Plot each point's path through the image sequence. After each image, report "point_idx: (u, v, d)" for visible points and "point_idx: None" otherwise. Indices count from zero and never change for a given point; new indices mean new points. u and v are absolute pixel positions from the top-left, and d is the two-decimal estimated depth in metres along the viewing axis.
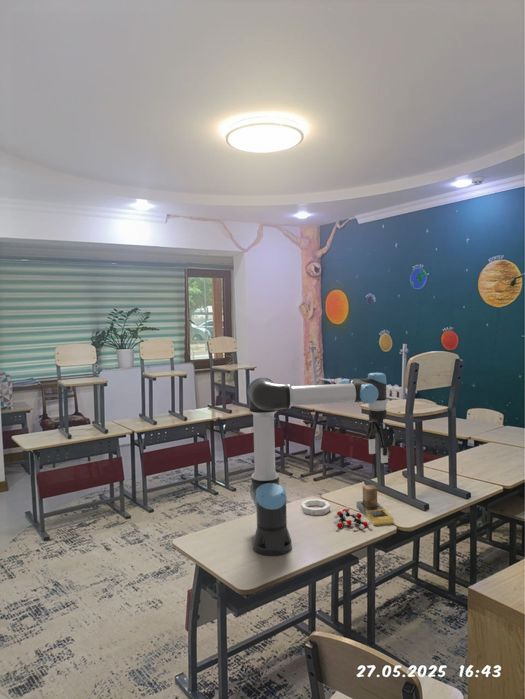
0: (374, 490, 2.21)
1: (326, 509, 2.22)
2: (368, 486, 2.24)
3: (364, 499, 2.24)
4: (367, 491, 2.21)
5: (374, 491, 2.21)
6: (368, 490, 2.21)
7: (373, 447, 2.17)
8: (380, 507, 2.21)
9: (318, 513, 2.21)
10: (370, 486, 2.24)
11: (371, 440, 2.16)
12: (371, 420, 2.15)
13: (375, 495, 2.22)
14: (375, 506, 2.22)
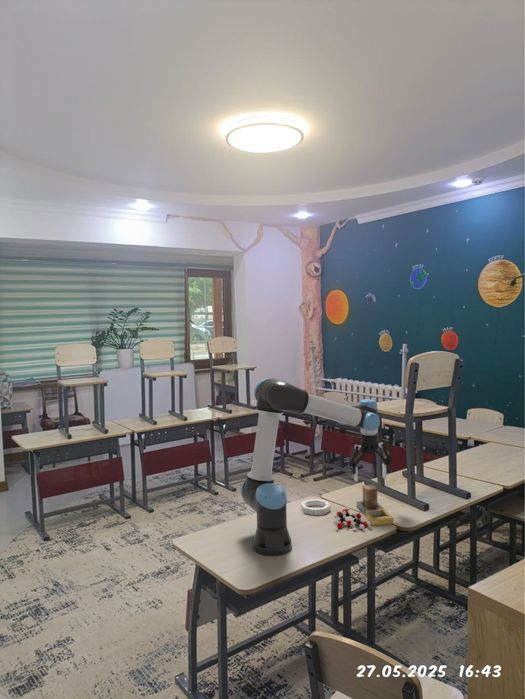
0: (374, 490, 2.21)
1: (326, 509, 2.22)
2: (368, 486, 2.24)
3: (364, 499, 2.24)
4: (367, 491, 2.21)
5: (374, 491, 2.21)
6: (368, 490, 2.21)
7: (383, 472, 2.24)
8: (380, 507, 2.21)
9: (318, 513, 2.21)
10: (370, 486, 2.24)
11: (383, 464, 2.24)
12: None
13: (375, 495, 2.22)
14: (375, 506, 2.22)
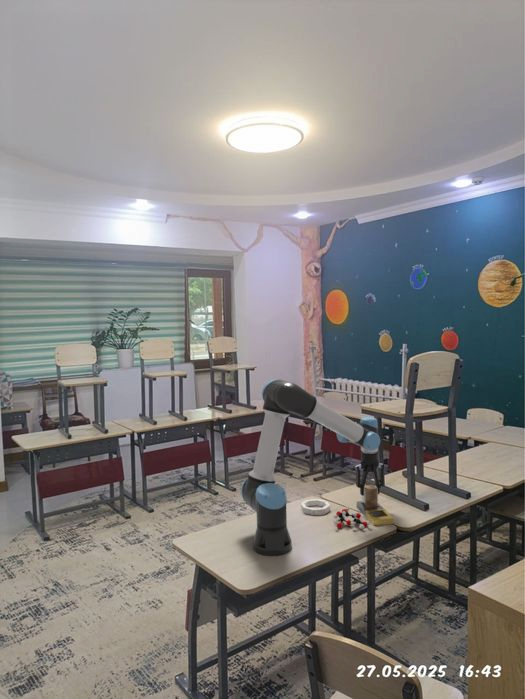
0: (374, 490, 2.21)
1: (326, 509, 2.22)
2: (368, 486, 2.24)
3: None
4: (367, 491, 2.21)
5: (374, 491, 2.21)
6: (368, 490, 2.21)
7: None
8: (380, 507, 2.21)
9: (318, 513, 2.21)
10: (370, 486, 2.24)
11: None
12: None
13: (375, 495, 2.22)
14: (375, 506, 2.22)
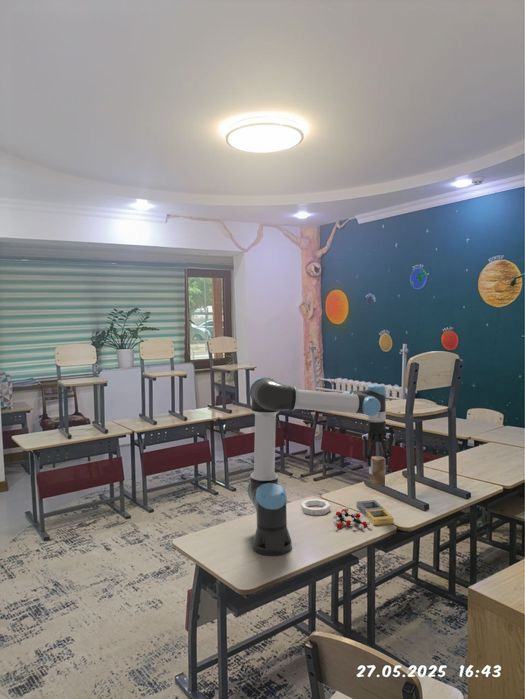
0: (382, 461, 2.11)
1: (326, 509, 2.22)
2: (375, 457, 2.14)
3: None
4: (374, 462, 2.11)
5: (381, 462, 2.11)
6: (376, 461, 2.11)
7: None
8: (380, 507, 2.21)
9: (318, 513, 2.21)
10: (377, 457, 2.14)
11: None
12: None
13: (383, 466, 2.11)
14: (382, 478, 2.12)
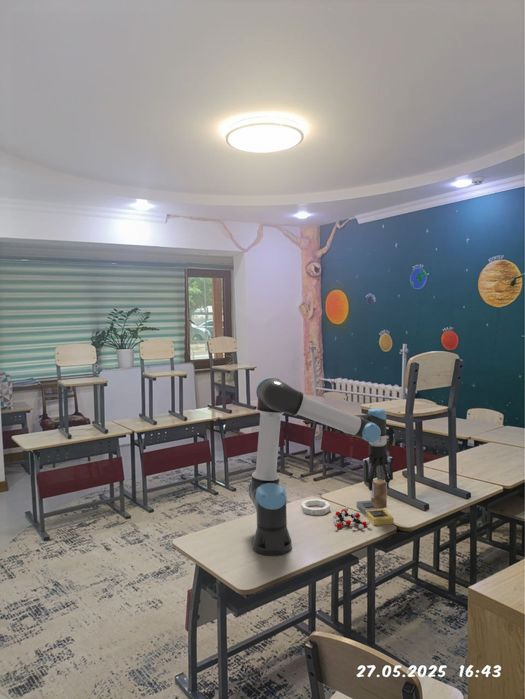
0: (383, 484, 2.11)
1: (326, 509, 2.22)
2: (377, 480, 2.14)
3: None
4: (376, 486, 2.11)
5: (383, 486, 2.11)
6: (377, 485, 2.11)
7: None
8: None
9: (318, 513, 2.21)
10: (379, 480, 2.14)
11: None
12: None
13: (384, 490, 2.11)
14: (384, 501, 2.12)
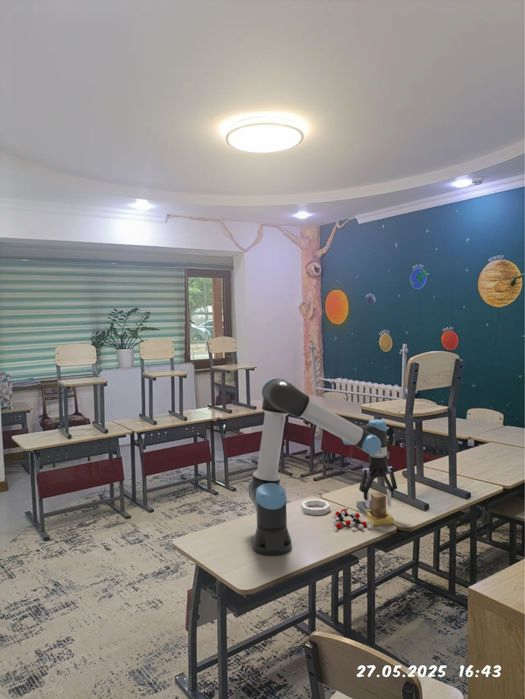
0: (383, 498, 2.11)
1: (326, 509, 2.22)
2: (376, 494, 2.15)
3: (372, 507, 2.14)
4: (375, 499, 2.11)
5: (383, 499, 2.12)
6: (377, 498, 2.11)
7: (388, 499, 2.14)
8: None
9: (318, 513, 2.21)
10: (378, 494, 2.14)
11: (387, 491, 2.15)
12: None
13: (384, 503, 2.12)
14: (384, 515, 2.12)
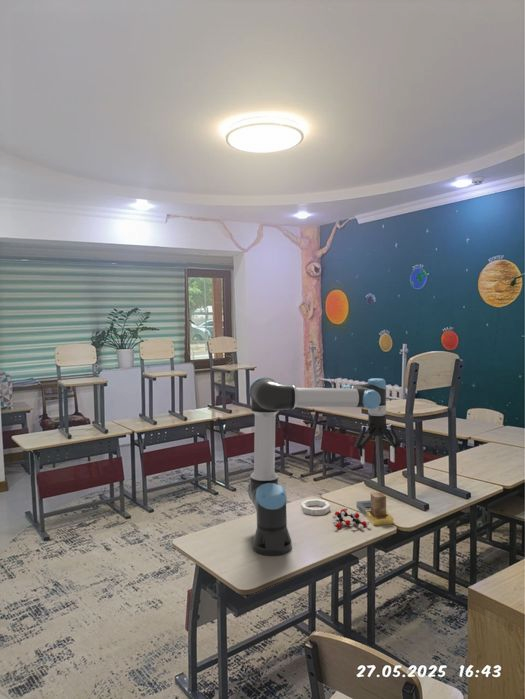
0: (383, 498, 2.12)
1: (326, 509, 2.22)
2: (376, 494, 2.15)
3: (372, 507, 2.14)
4: (375, 499, 2.11)
5: (383, 499, 2.12)
6: (377, 498, 2.11)
7: (391, 455, 2.13)
8: None
9: (318, 513, 2.21)
10: (378, 494, 2.14)
11: (391, 447, 2.14)
12: None
13: (384, 503, 2.12)
14: (384, 515, 2.12)
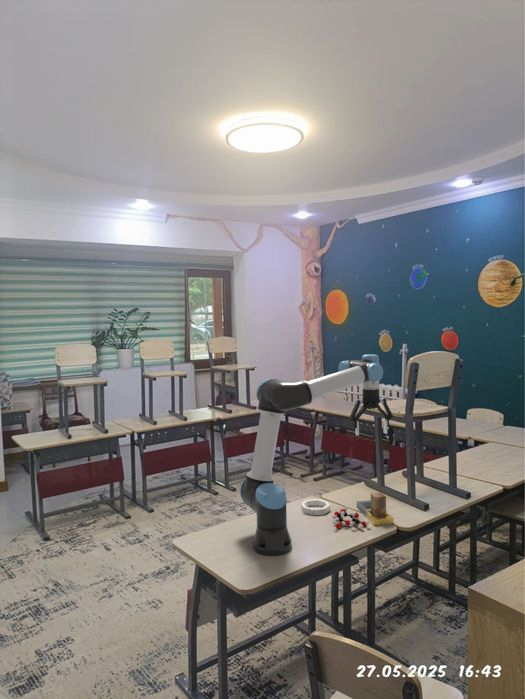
0: (383, 498, 2.12)
1: (326, 509, 2.22)
2: (376, 494, 2.15)
3: (372, 507, 2.14)
4: (375, 499, 2.11)
5: (382, 499, 2.12)
6: (377, 498, 2.11)
7: (385, 427, 2.25)
8: None
9: (318, 513, 2.21)
10: (378, 494, 2.14)
11: (384, 420, 2.26)
12: None
13: (384, 503, 2.12)
14: (384, 515, 2.12)
